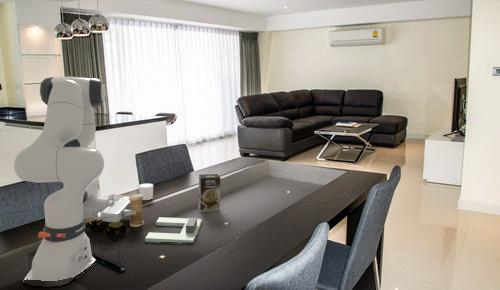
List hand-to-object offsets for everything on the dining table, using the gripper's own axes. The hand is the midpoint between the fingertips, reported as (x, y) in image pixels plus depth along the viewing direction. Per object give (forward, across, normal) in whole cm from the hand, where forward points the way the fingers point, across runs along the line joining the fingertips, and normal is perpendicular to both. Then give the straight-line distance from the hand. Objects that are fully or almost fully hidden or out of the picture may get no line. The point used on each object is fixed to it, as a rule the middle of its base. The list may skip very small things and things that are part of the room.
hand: (138, 209), depth 161 cm
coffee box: (+26, +20, +7) cm, 34 cm away
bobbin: (-1, 0, +6) cm, 7 cm away
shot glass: (-6, +30, +7) cm, 31 cm away
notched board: (+16, -5, +7) cm, 18 cm away
